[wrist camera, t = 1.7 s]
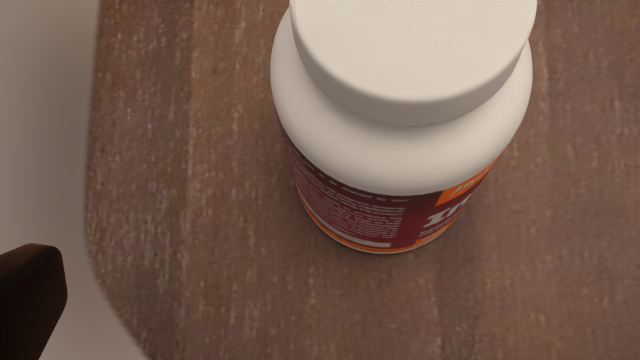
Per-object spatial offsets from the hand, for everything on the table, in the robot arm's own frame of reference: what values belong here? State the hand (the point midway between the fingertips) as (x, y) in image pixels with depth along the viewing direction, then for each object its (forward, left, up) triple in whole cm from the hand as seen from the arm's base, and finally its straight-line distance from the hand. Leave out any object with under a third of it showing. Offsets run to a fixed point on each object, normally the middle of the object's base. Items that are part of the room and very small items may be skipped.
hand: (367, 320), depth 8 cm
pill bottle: (+6, +2, -12) cm, 14 cm away
